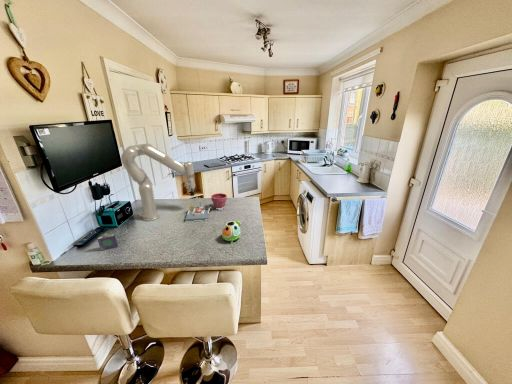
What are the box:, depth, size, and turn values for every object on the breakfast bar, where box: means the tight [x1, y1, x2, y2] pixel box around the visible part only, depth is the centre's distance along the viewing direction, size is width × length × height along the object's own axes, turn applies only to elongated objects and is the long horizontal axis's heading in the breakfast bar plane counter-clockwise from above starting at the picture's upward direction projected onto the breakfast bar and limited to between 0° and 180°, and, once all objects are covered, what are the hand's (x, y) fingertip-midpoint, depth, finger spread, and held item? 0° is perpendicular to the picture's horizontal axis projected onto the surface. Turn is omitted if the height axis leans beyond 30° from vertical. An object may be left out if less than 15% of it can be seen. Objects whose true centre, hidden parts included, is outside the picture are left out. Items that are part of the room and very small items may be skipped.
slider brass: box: [189, 204, 195, 211], centre depth 178 cm, size 3×3×4 cm
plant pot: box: [210, 192, 228, 209], centre depth 186 cm, size 14×14×13 cm
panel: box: [185, 206, 212, 222], centre depth 175 cm, size 18×24×4 cm
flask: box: [97, 232, 119, 252], centre depth 128 cm, size 9×3×11 cm, turn 117°
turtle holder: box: [221, 220, 242, 243], centre depth 141 cm, size 12×18×12 cm
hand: (192, 195), depth 180 cm, fingers closed
